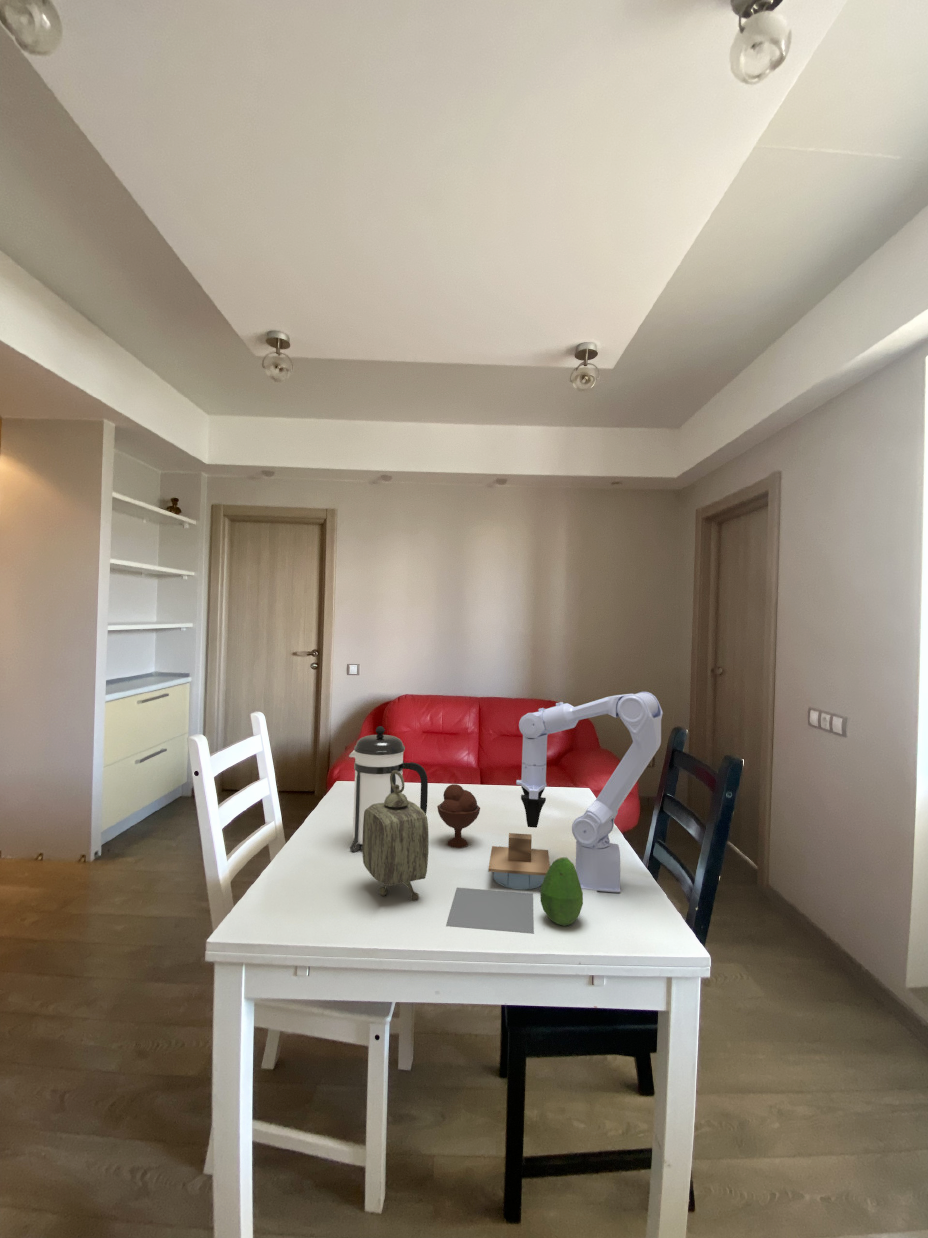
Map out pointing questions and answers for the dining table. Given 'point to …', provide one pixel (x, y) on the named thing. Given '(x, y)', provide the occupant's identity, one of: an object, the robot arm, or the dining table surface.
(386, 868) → the tabletop clock
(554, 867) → the avocado
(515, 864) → the cover board
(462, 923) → the mat
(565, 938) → the dining table surface
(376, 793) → the coffee press
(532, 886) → the bowl
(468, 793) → the ice cream bowl
